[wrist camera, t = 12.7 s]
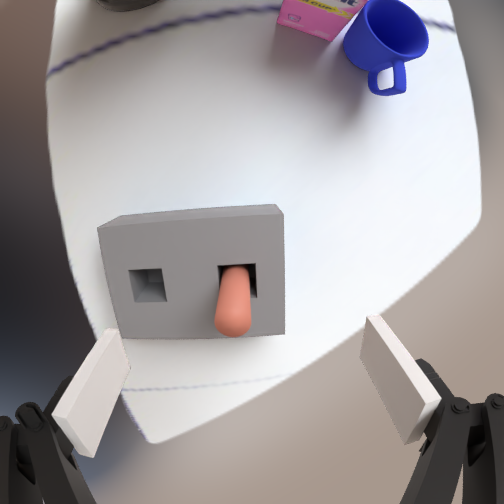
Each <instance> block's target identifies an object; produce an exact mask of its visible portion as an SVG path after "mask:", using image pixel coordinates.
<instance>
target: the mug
mask: <svg viewBox="0 0 504 504" xmlns="http://www.w3.org/2000/svg"><path fill="white" fill-rule="evenodd" d="M428 44H429V38H428V33H427V30H426V27H425V25H424V23H423V22H422V20H421V19H420V17H419V16H418V15H417V14H416V13H415V12H414V11H413V10H412V9H411V8H410V7H409V6H407V5H406V4H404V3H403V2H401V1H399V0H369V1H367V3H366V4H365V5H364V7H363V8H362V10H361V11H360V13H359V14H358V16H357V17H356V19H355V20H354V22H353V23H352V25H351V26H350V28H349V30H348V31H347V33H346V34H345V37H344V41H343V47H344V51H345V53H346V55H347V57H348V58H349V60H350V61H351V62H352V63H353V64H354V65H356V66H357V67H359V68H361V69H363V70H366V71H369V73H368V86H369V89H370V91H371V92H372V93H374V94H377V95H381V96H390V95H396V94H401V93H404V92H405V91H406V71H405V66H404V62H407V61H410V60H413V59H416V58H419V57H421V56H422V55H423V54H424V53H425V52H426V50H427V48H428ZM390 67H393V73H394V86H393V87H392V88H388V89H384V90H379V88H378V85H377V75H378V73H379V72H380V71H382V70H385V69H388V68H390Z"/></svg>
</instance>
